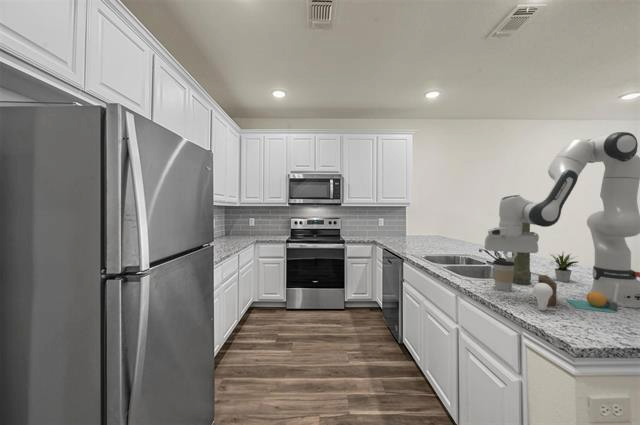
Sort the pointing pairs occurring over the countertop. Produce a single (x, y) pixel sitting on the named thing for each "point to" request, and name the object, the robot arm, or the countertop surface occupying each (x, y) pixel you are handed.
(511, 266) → the coffee cup
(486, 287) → the countertop surface
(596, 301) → the ball
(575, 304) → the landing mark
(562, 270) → the house plant
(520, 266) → the thermos
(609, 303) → the stopper wall
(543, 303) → the lightbulb
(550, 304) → the bridge
